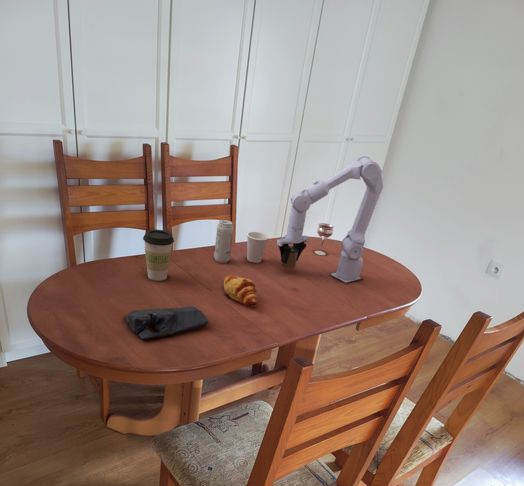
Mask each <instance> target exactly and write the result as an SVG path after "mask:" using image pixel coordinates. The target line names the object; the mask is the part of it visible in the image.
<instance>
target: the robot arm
mask: <svg viewBox="0 0 524 486" xmlns="http://www.w3.org/2000/svg"><path fill="white" fill-rule="evenodd" d="M382 173H383V170H382V167H380V165H379V163H377V162H376V161H374V160H373V159H371V158H370V157H369V156H366V155H363V156H360V157H359V158H357V159H355V160H353V161H352V162H350V163H349V164H348V165H346V166H345V167H343V168H342V169H340V170H339V171H337V172H336V173H335V174H333V175H331V176H330V177H328V178H327V179H326V180H323V179H322V180H321V179H319V180H314V181H313V182H312V184H310V185H309V186H307V187H306V188H302V189H301V191H297V192H295V193H293V195H292V197H291V198H290V203H291V208H290V212H289V219H288V222H287V223H288V224H287V229H286V233H285V235H284V236H283V237H281V238H278V239H277V240H276V245H277V246H278V249H279V253H280V261H281V264H282V263H284V264H286V263H287V259H288V255H289V253H290V251H291V249H292V248H291V247H289V246H290V245H292V246H294V247H297V248H298V249H299V252H298V255H297V260H296V263H297V262H298V261H299V258H300V256H301V255H302V252H303V251H304V250H305V249H306V247H307V243H308V242H309V240H310V236H308V235H303V233H304V228H305V223H306V217H307V212H308V210H310V208H311V205H313V204H315V203H317V202H318V201H320V200H321V199H324V198H325V197H327V196H328V195H329V192H330V190H331V189H333V188H335V187H338V186H339V185H341V184H343V183H345V182H346V181H349V180H350V179H352V180H361V178H362V180H363V182H364V184H365V186H366V189H365V192H364V194H363V196H362V199H361V202H360V204H359V208H358V211H357V213H356V217H355V218H354V221H353V224H352V226H351V229H350V230H348V231H347V234H346V235H345V236H344V238H343V239H342V240H341V248H342V250H341V252H340V255H339V258H338V259H339V260H338V264H337V268H336V272H332V273H330V275H331V276H332V277H334V278H336V279H338V280H340V281H342V282H343V283H345V284H346V283H351V282H355V281H359V280H361V279H362V277H360V276H361V273H362V268H363V265H364V259H363V257H362V256H363V255H364V252H365V251H364V250H365V248H364V246H365V243H366V232H367V229H368V227H369V224H370V221H371V220H372V217H373V214H374V212H375V209H376V208H377V207H376V206H377V205H378V202H379V199H380V196H381V193H382V192H383V189H384V188H383V187H384V184H383V176H382Z"/></svg>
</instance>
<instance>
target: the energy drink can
mask: <svg viewBox="0 0 524 486" xmlns="http://www.w3.org/2000/svg"><path fill="white" fill-rule="evenodd" d="M233 235H234V225H233V222H232V220H228V219H220V220H219V221H218V224H217V225H216V235H215V243H214V244H215V245H214V255H213V258H214V259H215V260H214V261H216V262H217V263H218V264H219V263H220V264H227V263H228V262H229V261H230V259H231V255H232V254H231V252H232V245H233Z"/></svg>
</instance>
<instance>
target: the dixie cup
mask: <svg viewBox="0 0 524 486" xmlns="http://www.w3.org/2000/svg"><path fill="white" fill-rule="evenodd" d="M246 236H247V238H246V239H247V244H246V245H247V246H246V247H247V248H246V260H247V261H248V262H250V263H255V264H259V263H261V262H262V259H263V257H264V253H265V249H266V246H267V242H268V240H269V235H267V234H266V233H263V232H260V231H249V232H247V234H246Z"/></svg>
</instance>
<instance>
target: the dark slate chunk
mask: <svg viewBox="0 0 524 486" xmlns="http://www.w3.org/2000/svg"><path fill="white" fill-rule="evenodd" d="M125 320H126V323H127V324H128V325H129V328H130V330H131V331H132V332H133V334H135V335H137V336H138V338H140V339H141V340H144V341H145V340H150V339H152V338H163V337H166V336H167V337H168V336H172V335H174V334H179V333H185V332H188V331H192V330H197V329H198V328H200V327H203V326H206V325H208V324H209V319H208V317H207V316H206V315H205V314H204V313H203V312H202V310H200V309H199V308H197V307H196V306H193V305H191V306H186V307H181V308H180V307H179V308H167V307H166V308H165V307H164V308H150V309H149V308H148V309H147V308H145V309H136V310H132V311H130V312H129V314H128V315H127V316H125ZM150 328H153V329H154V330H155V332H152V331H151V330H150Z"/></svg>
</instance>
